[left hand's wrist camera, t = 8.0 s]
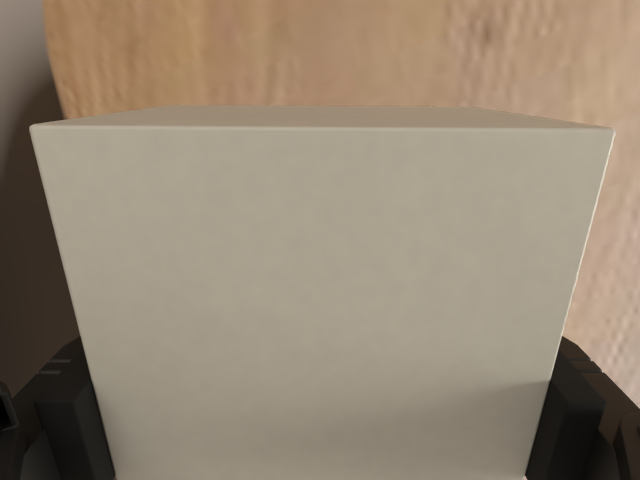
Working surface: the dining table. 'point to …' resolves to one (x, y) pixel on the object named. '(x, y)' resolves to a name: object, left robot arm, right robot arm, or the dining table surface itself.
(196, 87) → the dining table surface
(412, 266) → the beam
